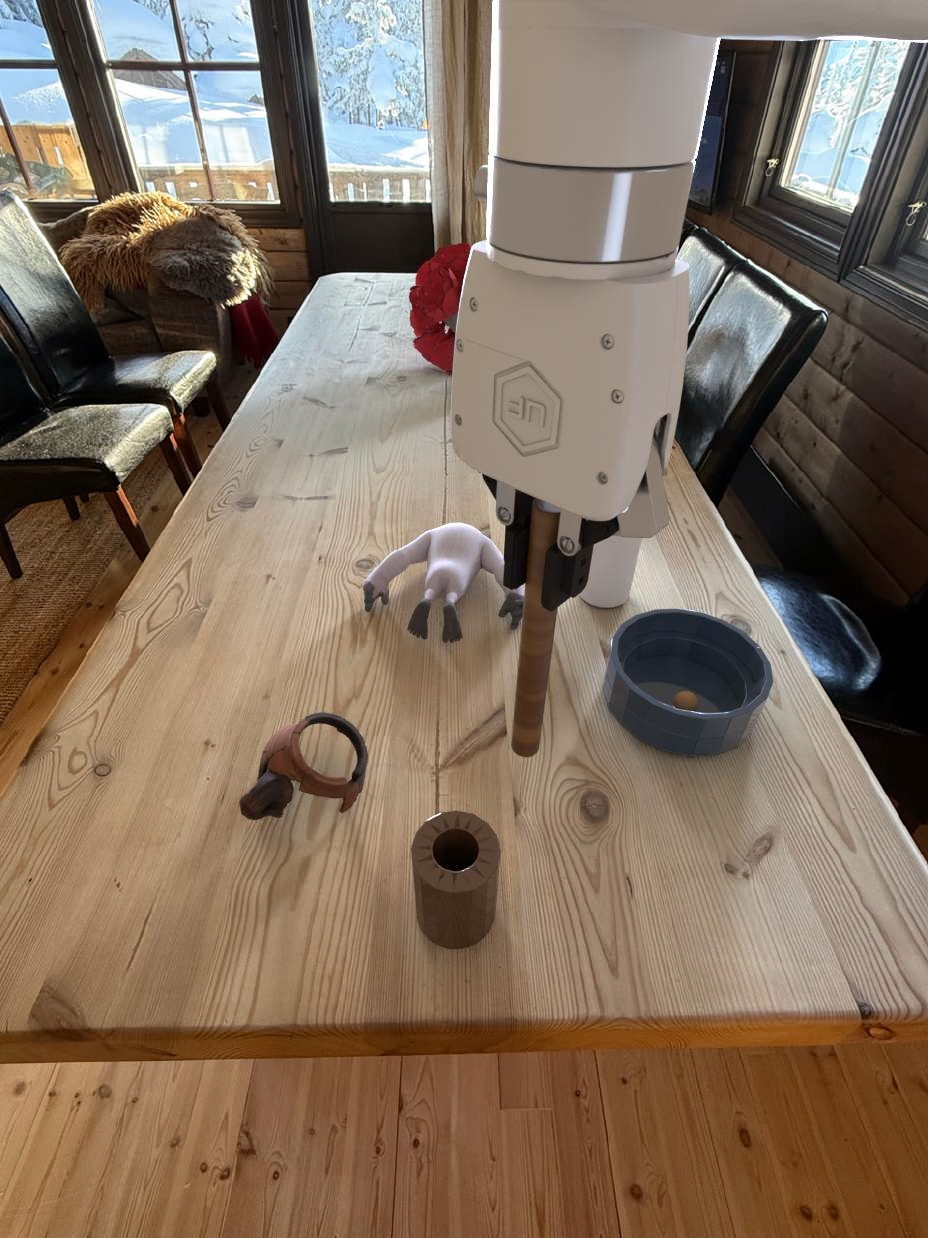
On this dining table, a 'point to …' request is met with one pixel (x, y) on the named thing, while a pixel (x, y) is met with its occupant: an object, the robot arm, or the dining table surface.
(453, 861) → the holder
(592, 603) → the can
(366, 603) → the yeti figurine
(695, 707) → the cork ball
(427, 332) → the bouquet
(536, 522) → the stick
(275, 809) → the broken pottery
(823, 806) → the dining table surface
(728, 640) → the bowl
